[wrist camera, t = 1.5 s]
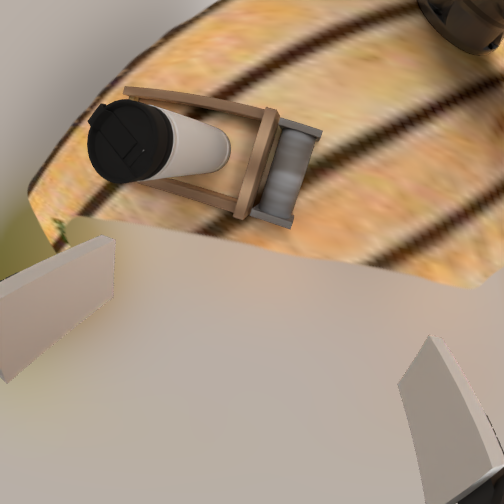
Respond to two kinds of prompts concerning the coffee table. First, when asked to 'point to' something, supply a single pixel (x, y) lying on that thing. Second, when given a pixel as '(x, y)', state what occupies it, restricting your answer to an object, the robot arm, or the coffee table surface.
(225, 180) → the coffee table surface
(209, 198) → the bay
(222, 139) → the travel mug
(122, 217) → the coffee table surface
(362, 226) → the coffee table surface
